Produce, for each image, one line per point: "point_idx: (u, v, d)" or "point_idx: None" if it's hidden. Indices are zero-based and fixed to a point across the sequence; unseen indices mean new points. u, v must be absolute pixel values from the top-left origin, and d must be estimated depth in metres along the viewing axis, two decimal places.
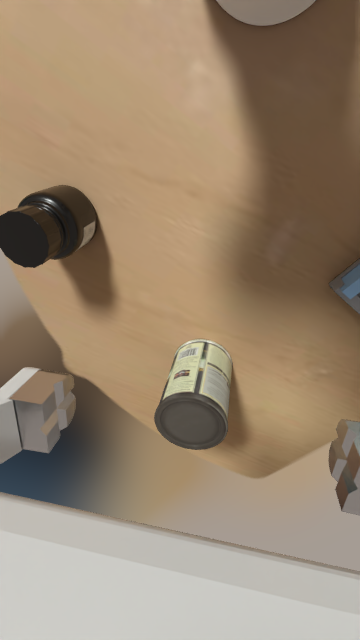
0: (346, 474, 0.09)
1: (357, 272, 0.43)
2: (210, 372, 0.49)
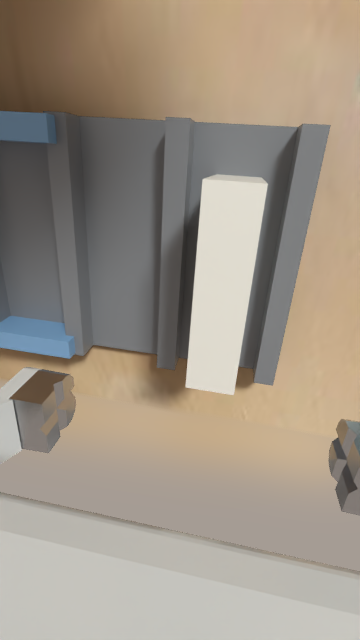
0: (346, 474, 0.09)
1: None
2: None
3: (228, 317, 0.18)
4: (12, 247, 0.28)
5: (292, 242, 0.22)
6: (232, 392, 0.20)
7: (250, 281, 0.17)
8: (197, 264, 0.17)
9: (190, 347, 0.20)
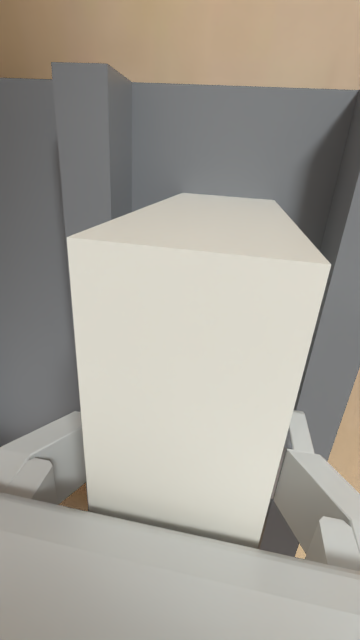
0: None
1: None
2: None
3: None
4: None
5: (341, 340, 0.10)
6: None
7: (254, 539, 0.06)
8: (92, 482, 0.06)
9: None
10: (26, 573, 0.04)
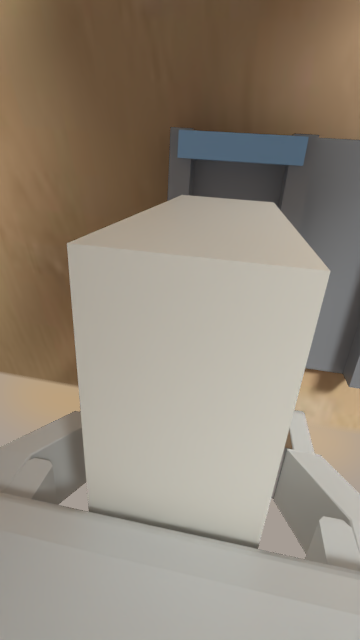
0: None
1: None
2: None
3: None
4: None
5: None
6: None
7: (254, 543, 0.06)
8: (92, 485, 0.06)
9: None
10: (26, 573, 0.04)
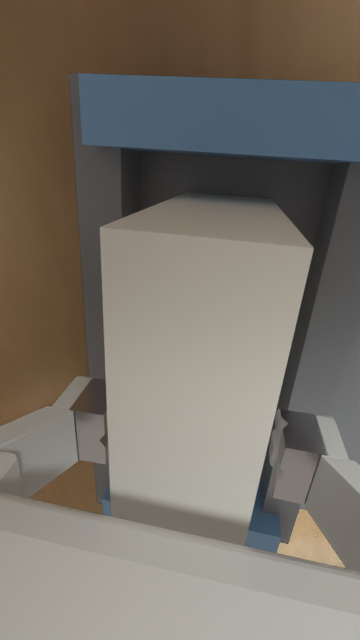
0: (278, 461, 0.09)
1: None
2: None
3: None
4: None
5: None
6: None
7: (253, 489, 0.06)
8: (112, 440, 0.07)
9: None
10: (26, 573, 0.04)
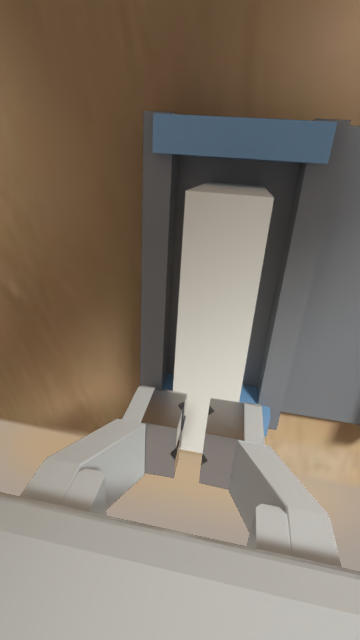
0: None
1: None
2: None
3: (221, 366, 0.14)
4: None
5: None
6: None
7: (250, 323, 0.13)
8: (181, 301, 0.13)
9: None
10: (26, 573, 0.04)
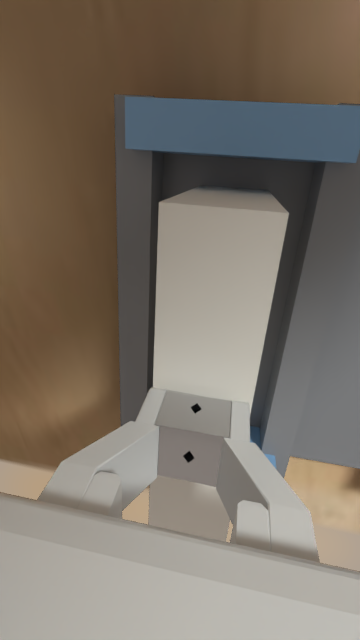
0: None
1: None
2: None
3: None
4: None
5: None
6: (223, 539, 0.13)
7: (253, 384, 0.09)
8: (157, 352, 0.10)
9: None
10: (26, 573, 0.04)
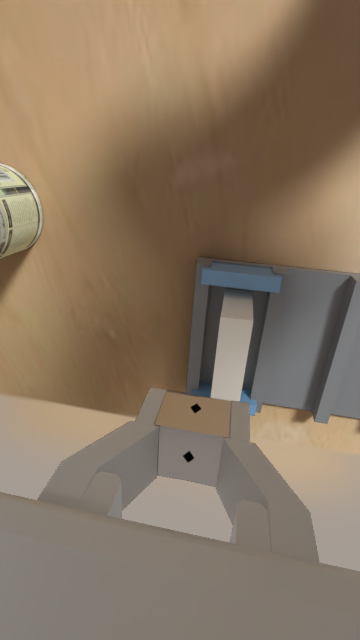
0: None
1: (230, 267, 0.35)
2: None
3: (233, 381, 0.33)
4: (214, 339, 0.41)
5: None
6: None
7: (245, 364, 0.32)
8: (216, 355, 0.32)
9: (211, 396, 0.34)
10: (26, 573, 0.04)
